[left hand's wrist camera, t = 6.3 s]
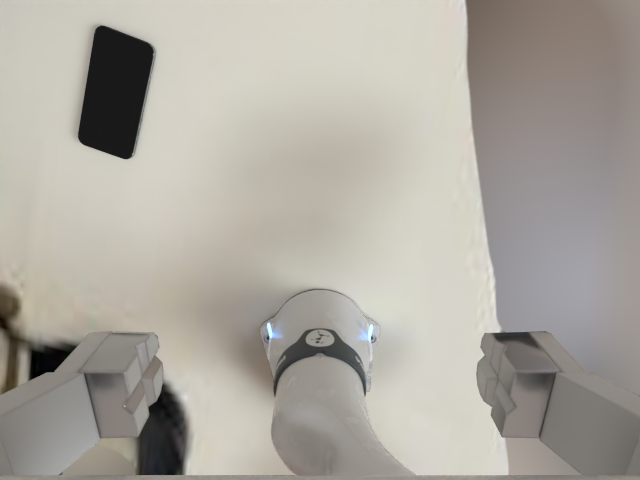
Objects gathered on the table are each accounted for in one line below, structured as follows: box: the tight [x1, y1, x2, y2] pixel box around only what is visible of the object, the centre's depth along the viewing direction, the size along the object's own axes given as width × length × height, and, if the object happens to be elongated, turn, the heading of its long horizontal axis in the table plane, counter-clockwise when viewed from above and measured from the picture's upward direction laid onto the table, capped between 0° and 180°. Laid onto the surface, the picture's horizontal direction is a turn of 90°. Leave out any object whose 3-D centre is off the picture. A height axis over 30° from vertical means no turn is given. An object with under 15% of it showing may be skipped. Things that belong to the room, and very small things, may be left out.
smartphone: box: [78, 26, 155, 159], centre depth 53 cm, size 7×1×15 cm
